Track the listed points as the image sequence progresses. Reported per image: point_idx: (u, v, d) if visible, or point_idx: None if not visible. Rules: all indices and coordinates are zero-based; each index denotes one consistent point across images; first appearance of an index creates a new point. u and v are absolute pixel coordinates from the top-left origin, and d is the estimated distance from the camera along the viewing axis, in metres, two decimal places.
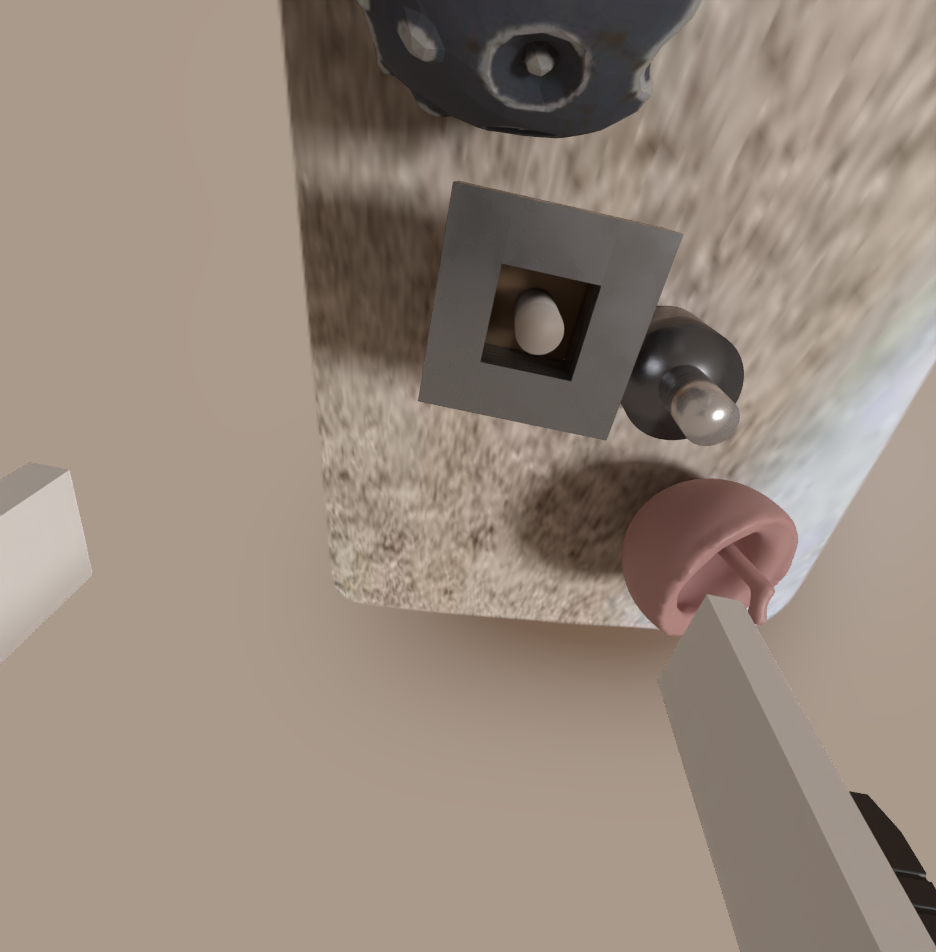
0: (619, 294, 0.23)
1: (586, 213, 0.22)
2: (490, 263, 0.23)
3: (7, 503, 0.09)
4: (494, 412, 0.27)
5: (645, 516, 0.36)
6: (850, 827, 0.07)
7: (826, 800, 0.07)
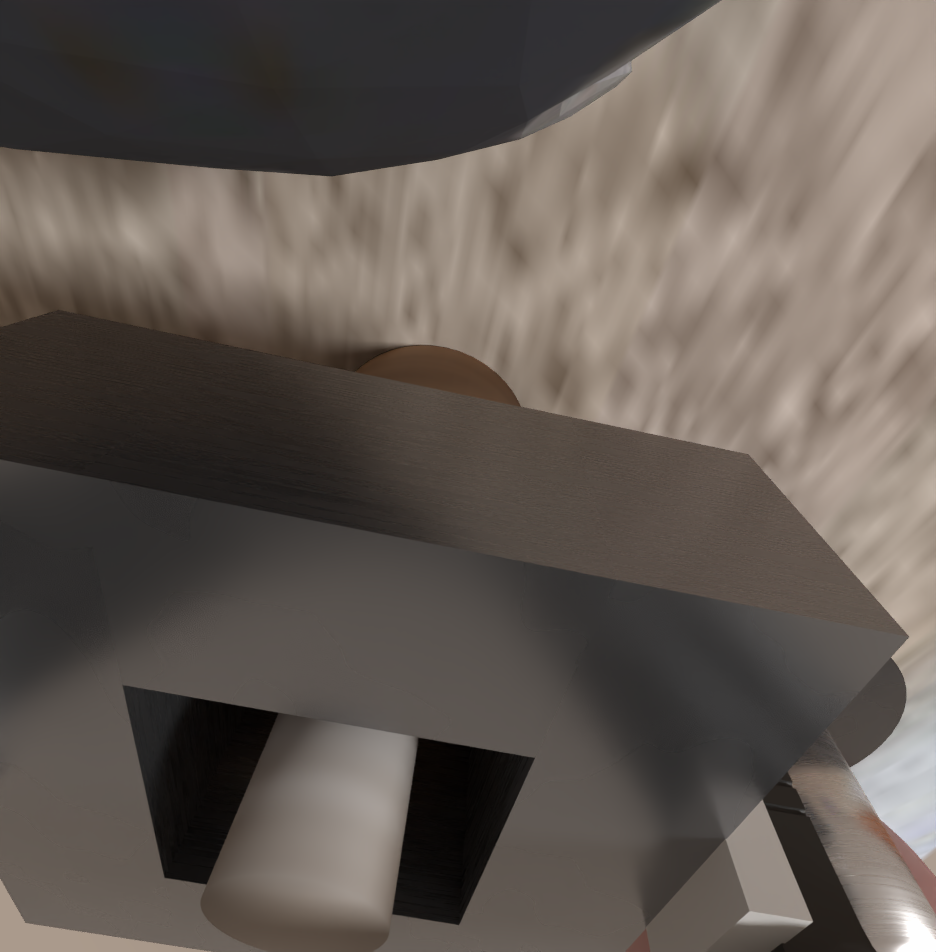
0: (606, 781, 0.06)
1: (440, 549, 0.04)
2: (78, 681, 0.06)
3: None
4: (249, 951, 0.09)
5: None
6: None
7: None
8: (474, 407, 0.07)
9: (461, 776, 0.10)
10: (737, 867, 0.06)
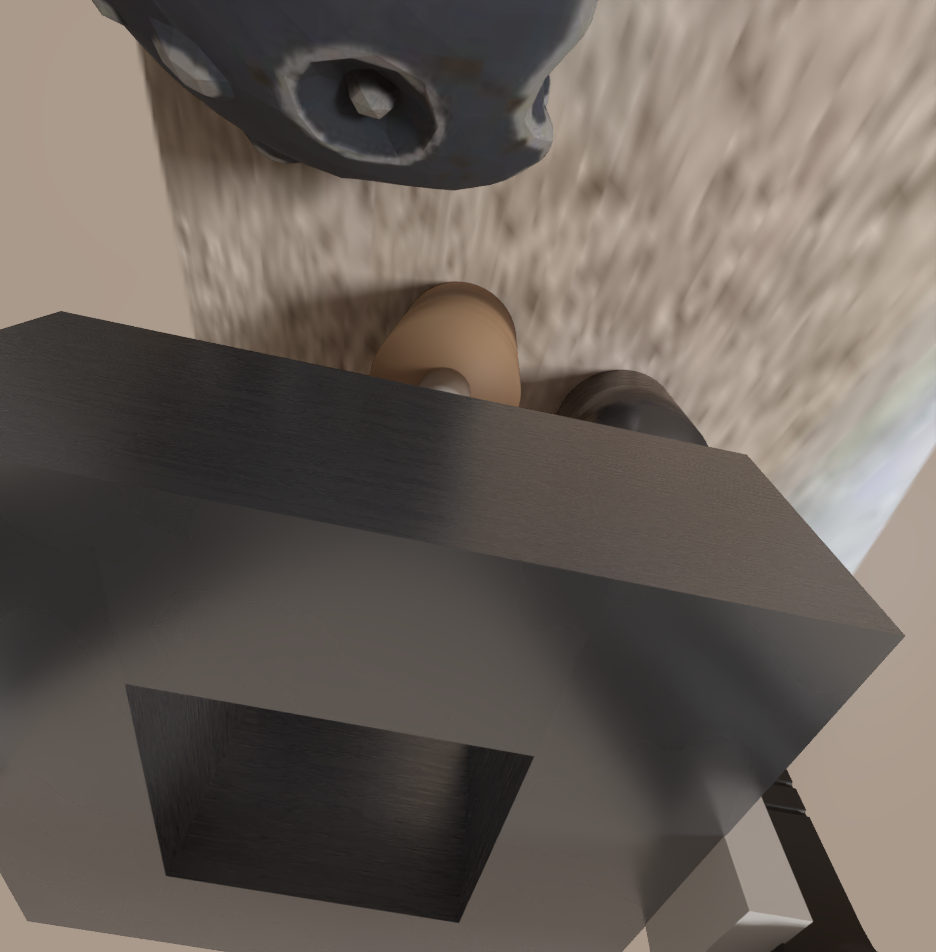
0: (604, 778, 0.06)
1: (440, 548, 0.04)
2: (81, 679, 0.06)
3: None
4: (250, 950, 0.09)
5: None
6: None
7: None
8: (474, 408, 0.07)
9: (461, 775, 0.10)
10: (737, 867, 0.06)
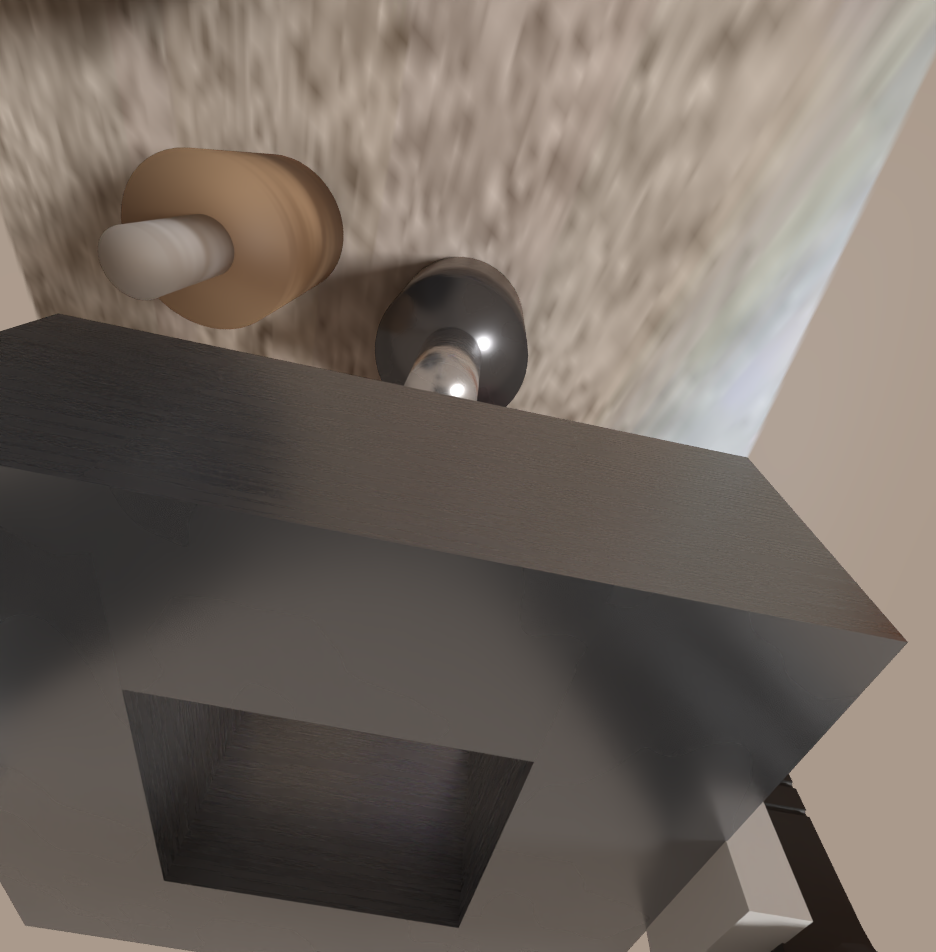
0: (604, 785, 0.06)
1: (439, 554, 0.04)
2: (77, 685, 0.06)
3: None
4: None
5: None
6: None
7: None
8: (473, 410, 0.07)
9: (460, 778, 0.10)
10: (737, 867, 0.06)
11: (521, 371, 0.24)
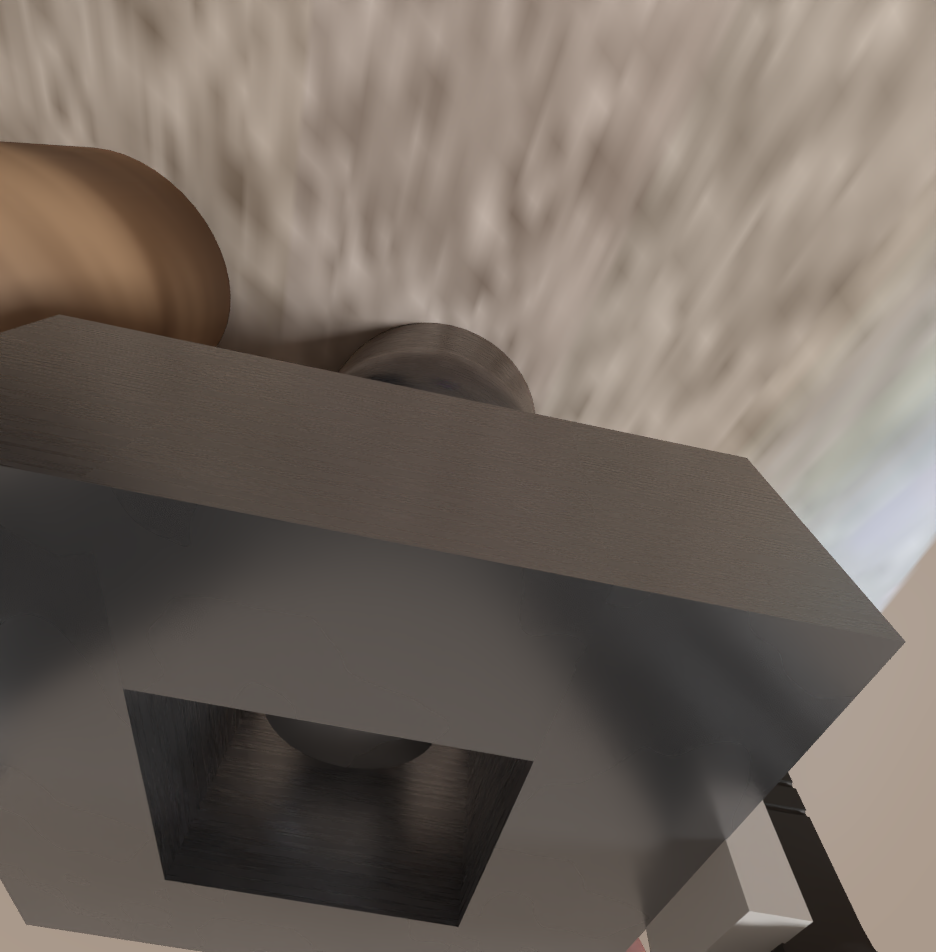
0: (604, 784, 0.06)
1: (439, 554, 0.04)
2: (79, 684, 0.06)
3: None
4: None
5: None
6: None
7: None
8: (473, 411, 0.07)
9: (460, 778, 0.10)
10: (737, 867, 0.06)
11: None
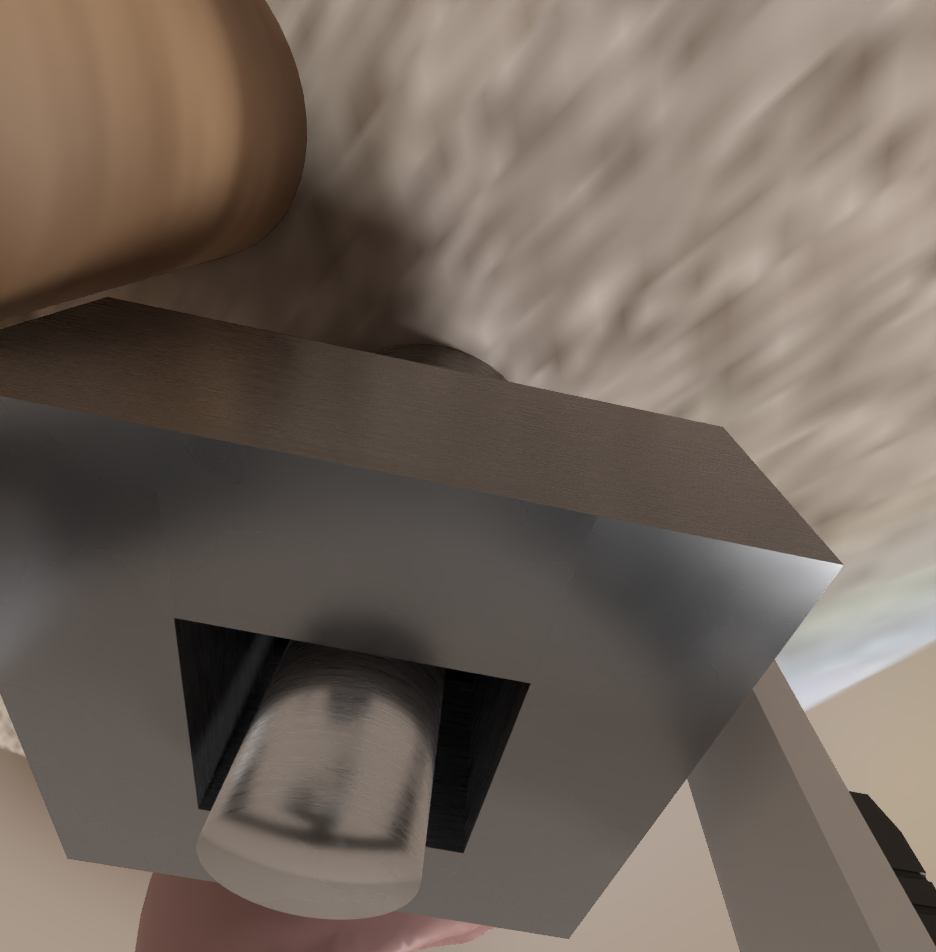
0: (592, 705, 0.07)
1: (450, 489, 0.05)
2: (136, 615, 0.07)
3: None
4: None
5: None
6: (850, 827, 0.07)
7: (826, 800, 0.07)
8: (477, 383, 0.08)
9: (464, 729, 0.11)
10: None
11: None
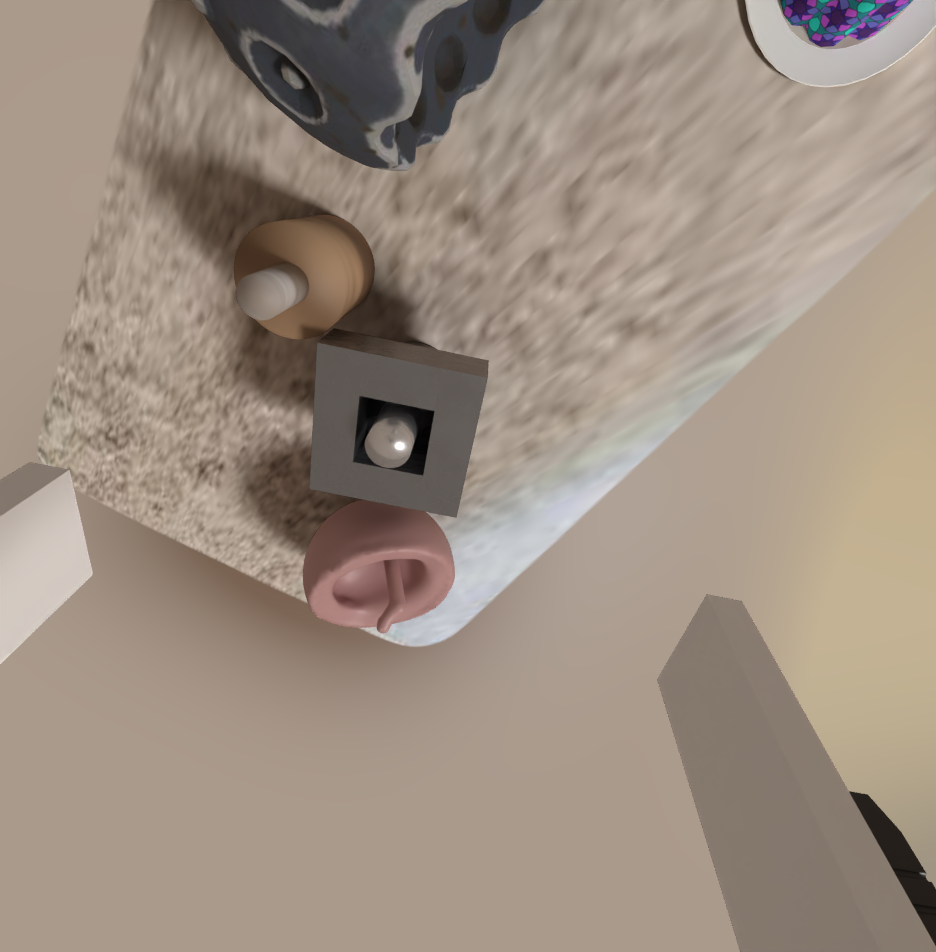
0: (448, 416, 0.32)
1: (415, 363, 0.30)
2: (351, 395, 0.31)
3: (6, 502, 0.09)
4: (368, 497, 0.35)
5: (342, 510, 0.40)
6: (850, 827, 0.07)
7: (826, 800, 0.07)
8: (425, 349, 0.33)
9: (425, 458, 0.36)
10: None
11: None
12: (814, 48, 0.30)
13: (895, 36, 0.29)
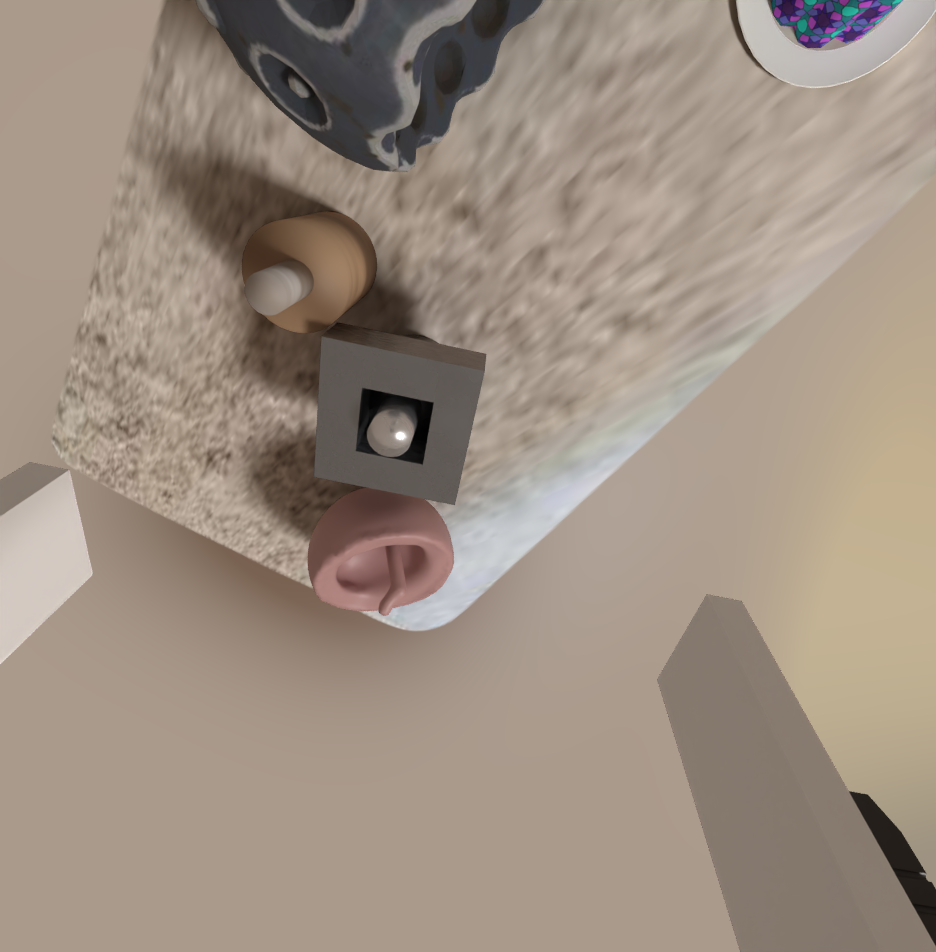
0: (447, 408, 0.33)
1: (416, 357, 0.31)
2: (354, 387, 0.33)
3: (7, 503, 0.09)
4: (370, 485, 0.36)
5: (345, 498, 0.42)
6: (850, 827, 0.07)
7: (826, 800, 0.07)
8: (425, 342, 0.34)
9: (425, 448, 0.37)
10: None
11: None
12: (801, 50, 0.30)
13: (880, 40, 0.30)
